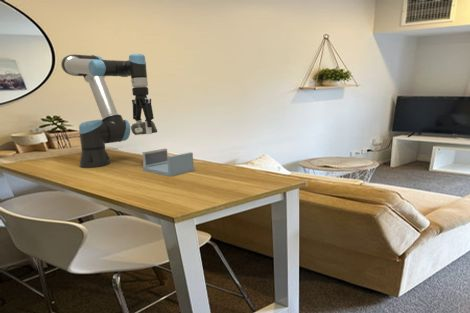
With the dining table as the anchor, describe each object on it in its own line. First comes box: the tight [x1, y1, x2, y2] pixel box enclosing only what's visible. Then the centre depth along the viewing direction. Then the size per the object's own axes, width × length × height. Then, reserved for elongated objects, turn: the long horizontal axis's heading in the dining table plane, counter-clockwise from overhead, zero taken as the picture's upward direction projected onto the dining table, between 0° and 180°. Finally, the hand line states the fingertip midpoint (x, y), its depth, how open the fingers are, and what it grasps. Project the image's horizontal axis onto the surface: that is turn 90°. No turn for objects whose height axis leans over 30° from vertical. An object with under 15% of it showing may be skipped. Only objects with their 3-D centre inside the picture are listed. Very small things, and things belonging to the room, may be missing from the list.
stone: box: [130, 120, 158, 136], centre depth 169 cm, size 14×7×10 cm, turn 138°
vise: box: [141, 152, 195, 177], centre depth 160 cm, size 22×14×8 cm, turn 47°
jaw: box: [142, 148, 169, 167], centre depth 166 cm, size 2×13×7 cm, turn 137°
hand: (144, 133), depth 170 cm, fingers closed on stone, 7 cm apart
